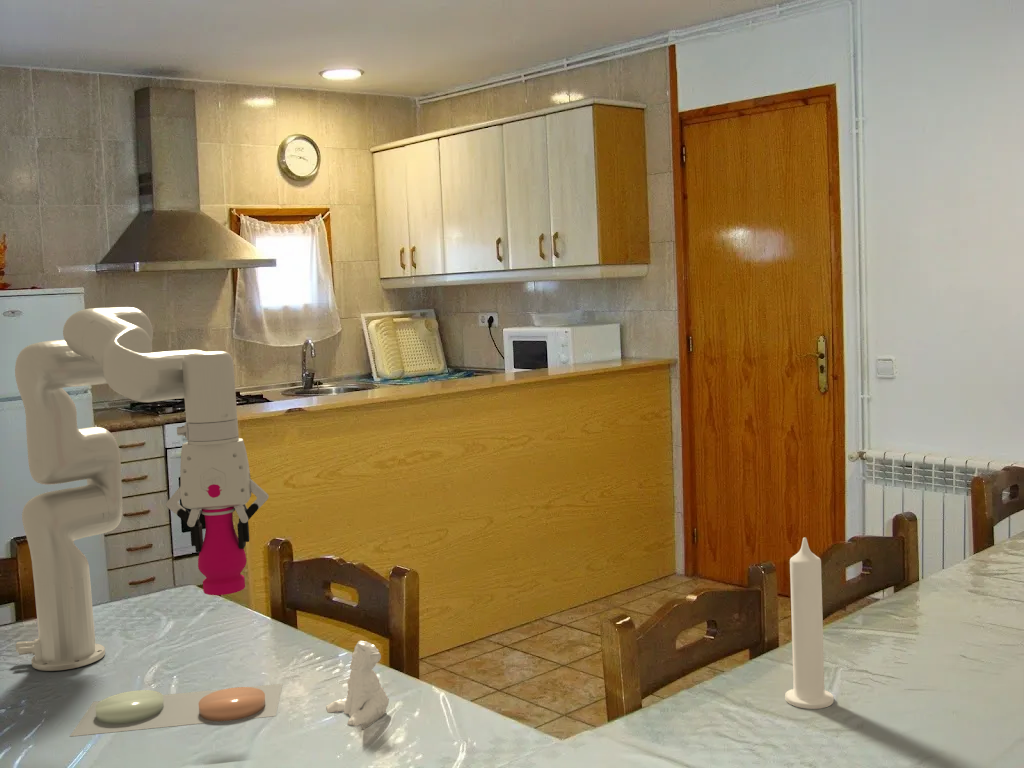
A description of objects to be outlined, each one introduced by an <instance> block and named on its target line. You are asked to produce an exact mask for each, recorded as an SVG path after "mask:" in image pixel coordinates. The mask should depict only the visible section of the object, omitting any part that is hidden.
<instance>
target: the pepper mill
mask: <svg viewBox="0 0 1024 768" xmlns="http://www.w3.org/2000/svg"><path fill="white" fill-rule="evenodd" d="M219 488H221V487H220V486H219V485H215V484H213V485H210V486H209V487H208V489H209V490H206V491H207V492H208V494H209V496H210V497H212V498H214V497H218V496H219V495H220V491H222V489H221V490H220V489H219ZM235 511H236V510H235V508H234V507H221V508H208V509H201V512H200V514H202V515H204V521H205V533H204V537H203V544H202V547H201V551H200V552H198V557H197V567H198V568H197V569H198V570H199V572H200V573H201V574H203V576H204V577H205V578H204V579H203V581H202V588H203V589H202V592H203V593H204V594H206V595H209V596H225V595H231V594H235V593H238V592H241V591H243V590H245V588H246V579H245V575H243V574H241V573H242V571H243V570H244V569H245V567H246V565H247V563H248V562H247V556H246V555H247V554H246V552H245V550H244V549H245V548H244V549H240V548H239V542H238V534H237V533H236V530H235V527H234V526H235V525H234V520H233V518H234V517H233V514H234V512H235Z"/></svg>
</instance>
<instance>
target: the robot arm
mask: <svg viewBox="0 0 1024 768" xmlns="http://www.w3.org/2000/svg"><path fill="white" fill-rule="evenodd" d="M153 330H154V328H153V325H152V323H151V320H150V318H149V317H148V315H147V314H146V313H144V312H143V311H142V310H141V309H139V308H137V307H133V306H132V307H131V306H117V307H116V306H115V307H95V308H94V307H93V308H91V307H90V308H86V309H81V310H79V311H76V312H74V313H73V314H71V315H70V316H69V317H68V318H67V319H66V321H65V323H64V325H63V328H62V337H63V339H54V340H45V341H40V342H35V343H31V344H29V345H27V346H25V347H24V348H22V349H21V350H20V352H19V353H18V355H17V357H16V360H15V366H14V377H15V380H16V381H15V382H16V385H17V389H18V392H19V395H20V398H21V400H22V403H23V408H24V414H25V428H26V429H25V430H26V444H27V445H26V446H27V460H28V462H27V463H28V469H29V473H30V476H31V478H32V480H34V482H36V483H38V484H41V485H48V486H49V485H59V484H60V485H61V484H67V483H72V482H78V481H82V480H83V481H85V480H86V483H87V485H81V486H76V487H68V488H61V489H58V490H51V491H46V492H43V493H40V494H38V495H36V496H33V497H32V498H31V499H29V500H28V501H27V502H26V503H25V505H24V507H23V509H22V513H21V520H22V525H23V530H24V533H25V537H26V541H27V544H28V548H29V552H30V558H31V568H32V577H33V586H34V597H35V598H34V599H35V609H36V617H37V618H36V621H37V630H38V631H37V632H38V638H34V640H32V641H31V640H30V641H28V640H27V641H25V640H24V641H17V642H16V643H15V651H16V653H18V656H19V655H20V656H21V655H30V654H32V655H33V657H32V658H31V666H32V668H33V669H36V670H38V671H43V672H56V671H57V672H58V671H65V670H72V669H77V668H81V667H84V666H85V667H86V666H88V665H90V664H92V663H93V664H94V663H95V662H97V661H99V660H101V659H102V658H103V657H104V656H105V654H106V647H105V646H104V645H102V644H100V643H97V642H96V635H95V634H96V633H95V632H96V631H95V620H94V610H93V609H94V608H93V599H92V598H93V597H92V596H93V595H92V585H91V584H92V583H91V575H90V565H89V561H88V559H87V557H86V555H85V554H84V553H83V552H82V550H80V549H79V547H77V545H76V544H75V543H74V542H75V541H77V540H80V539H83V538H88V537H93V536H97V535H101V534H106V533H109V532H111V531H114V530H115V529H116V528H118V526H119V525H120V523H121V521H122V516H123V489H122V488H123V487H122V466H121V453H120V448H119V444H118V443H117V440H116V438H115V437H114V434H113V433H111V431H109V430H108V429H106V428H104V427H99V426H98V427H97V426H92V427H90V426H89V427H82V428H78V420H77V415H78V413H77V406H76V404H75V402H74V401H73V399H72V397H71V396H70V394H69V393H68V392H67V391H66V390H65V389H64V388H74V387H75V388H76V387H85V386H96V385H106V384H107V385H108V387H109V388H110V389H111V390H112V391H114V392H115V393H117V394H119V395H121V396H123V397H125V398H127V399H130V400H132V401H135V402H139V403H154V402H161V401H162V402H163V401H169V400H175V399H176V400H179V399H181V400H182V399H184V409H185V424H184V425H182V426H177V427H176V435H177V436H179V437H180V436H182V437H185V438H186V441H187V442H183V443H182V446H181V453H180V467H179V468H180V476H179V478H180V486H179V487H177V488H178V489H177V490H176V491H175V492H174V493H173V494H172V495H171V497H170V498H169V499H168V500H167V501H166V503H165V506H166V508H167V509H169V510H170V511H172V513H174V514H176V515H177V517H178V518H180V519H181V520H182V521H183V522H184V523H186V524H187V526H188V527H189V529H190V531H189V532H190V544H191V547H195V553H199V552H200V551H201V547H202V544H203V541H204V537H203V535H204V534H203V523H201V521H200V516H201V512H202V509H208V508H221V507H234V508H235V511H236V514H237V516H238V523H237V524H236V525H237V537H238V542H239V548H240V549H245V547H246V544H247V543H248V542H249V543H250V528H249V527H250V526H249V520H251V518H252V517H253V516H254V515H255V514H256V512H258V510H260V508H261V507H262V506H263V505H264V504H265V503H266V502H267V501H268V499H269V496H270V495H269V493H267V492H266V491H265V490H264V489H263V488H262V487H260V486H259V485H258V484H257V483H256V482H255V481H254V480H253V479H251V473H250V465H249V464H250V463H249V459H248V453H247V449H246V445H245V441H244V439H243V438H240V437H239V424H238V423H239V422H238V421H239V420H238V411H237V410H238V409H237V396H236V394H237V392H236V382H235V381H236V379H235V368H234V365H235V364H234V359H233V357H232V355H231V354H230V353H229V352H227V351H223V350H214V351H211V350H210V351H204V350H201V349H181V350H168V351H167V350H166V351H155V352H153V343H152V341H153V338H154V331H153ZM213 484H215V485H219V486H220V487H221V488H219V489H220V490H221V489H222V491H220V495H219V496H218V497H214V498H212V497H210V496H209V494H208V492H207V491H206V490H209V489H208V487H209V486H210V485H213ZM252 494H253V495H254V496H255V497H256V499H255V500H254V501H253V502H252V503H251V504H250V505H249V507H247V503H248V502H249V501H250V499H251V496H252ZM180 500H181V504H180V502H179V501H180ZM189 510H190V511H189Z"/></svg>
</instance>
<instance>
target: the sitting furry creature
mask: <svg viewBox="0 0 1024 768" xmlns="http://www.w3.org/2000/svg"><path fill="white" fill-rule="evenodd" d="M379 651H380V650H379V648H377V647H376V645H375V644H372V643H371V642H368V641H367V640H365V641H364V640H359V641H357V643H356V644H355V646H354V651H353V652H352V655H351V657H352V658H351V660H350V661H351V662H350V665H349V670H350V673H349V678H348V679H347V681H346V684H347V696H346V698H343V699H337V700H334V701H332V702H331V703H329V704H326V706H325V709H326V711H327V713H329V714H330V713H334V712H335V713H336V712H343V713H344V715H348V716H349V719H348V721H347V723H346V724H347V725H348V726H355V727H357V726H359V725H361V731H365V729H366V728H367V727H370V726H371V725H373V723H375V722H376V721H378V720H380V719H381V718H383V716H384V714H386V712H387V709H388V706H389V702H390V698H389V697H388V695H387V692H386V691H385V689H384V687H382V685H381V683H380V679H379V677H378V676H377V673H376V672H375V671H374V670H373V669H374V668H375V666H376V664H377V663H379V662H380V660H381V659H382V655H381V653H380V652H379Z"/></svg>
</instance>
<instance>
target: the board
mask: <svg viewBox="0 0 1024 768" xmlns="http://www.w3.org/2000/svg"><path fill="white" fill-rule="evenodd" d="M283 685H284V684H283V683H275V684H264V685H254V686H253V685H252V686H251V687H252V688H257V689H260V690H262V691H263V692H264V693H265V707H264V708H263V709H262V710H261V711H259V712H258V713H256V714H254V715H251V716H248V717H245V718H241V719H236V720H235V721H242V720H249V719H252V720H253V719H259V718H261V719H262V718H270V717H276V716H277V712H278V707H279V704H280V703H279V702H280V698H281V693H282V689H283ZM223 689H224V688H223ZM223 689H222V688H221V689H213V690H212V689H211V690H202V691H191V692H180V693H170V694H162V695H163V702H164V708H163V709H162V710H161V711H160V712H159V713H158V714H156V715H154V716H152V717H150V718H147V719H144V720H140V721H137V722H132V723H125V724H106V723H102V722H99V721H98V720H97V719H96V710H95V707H96V705H97V704H98V703H99V702H100V701H101V700H97V701H93V702H91V705H90V706H89V707H88V709H87V710H86V712H85V713H84V714H83V716H82V717H81V719H80V721H79V722H78V723H77V725H76V726H75V727H74V729H73V730H72V732H71V734H70V735H69V737H71V738H72V737H80V736H81V737H82V736H91V735H101V734H102V735H103V734H110V733H120V732H121V733H122V732H132V731H141V730H151V729H161V728H170V727H171V728H172V727H180V726H191V725H202V724H209V723H211V724H213V723H220V722H224V721H212V720H207V719H204V718H202V717H201V716H200V715H199V701H200V700H201V699H202V698H203V697H205V696H206V695H208V694H210V693H213V692H216V691H219V690H223ZM230 721H231V722H232V721H233V722H234V720H229V721H228V722H230Z"/></svg>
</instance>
